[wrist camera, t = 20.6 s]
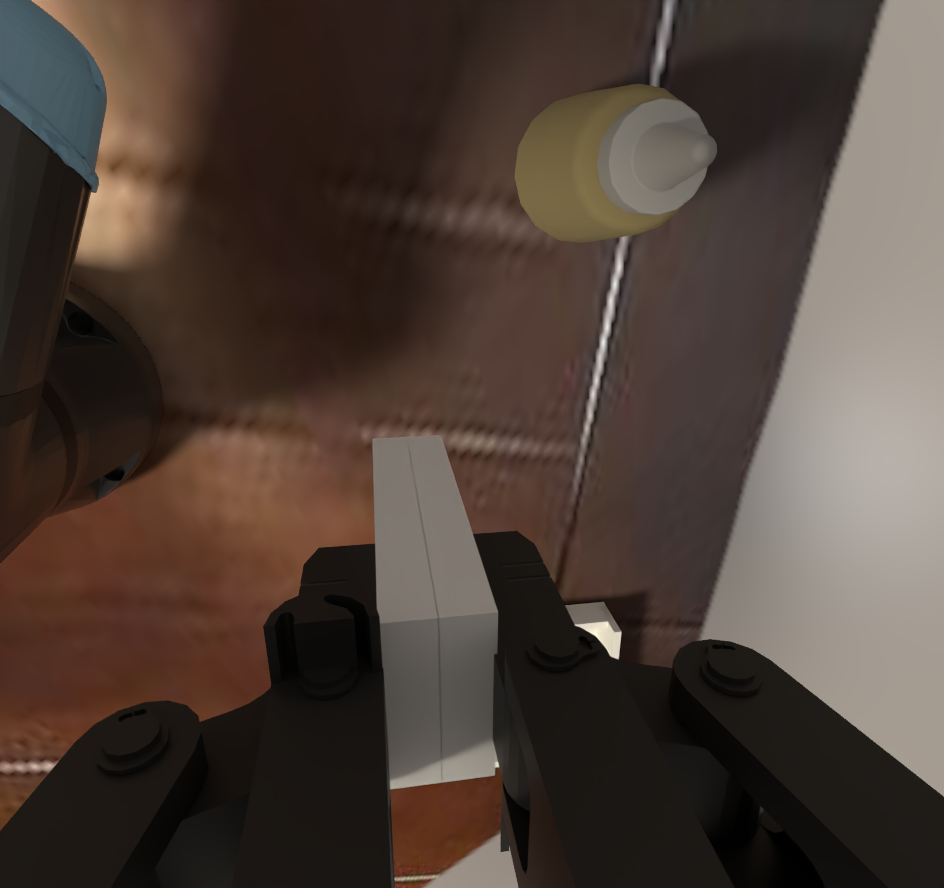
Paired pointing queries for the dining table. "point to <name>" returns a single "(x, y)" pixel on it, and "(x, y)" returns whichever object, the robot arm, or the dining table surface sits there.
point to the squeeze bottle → (611, 162)
